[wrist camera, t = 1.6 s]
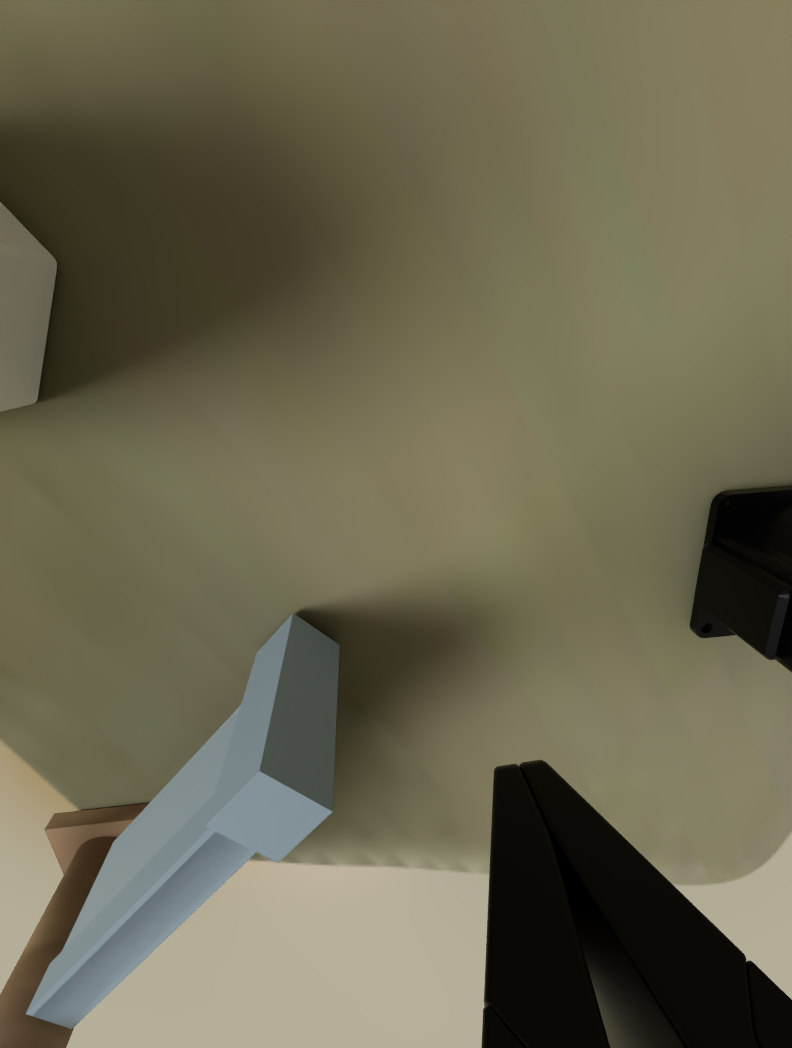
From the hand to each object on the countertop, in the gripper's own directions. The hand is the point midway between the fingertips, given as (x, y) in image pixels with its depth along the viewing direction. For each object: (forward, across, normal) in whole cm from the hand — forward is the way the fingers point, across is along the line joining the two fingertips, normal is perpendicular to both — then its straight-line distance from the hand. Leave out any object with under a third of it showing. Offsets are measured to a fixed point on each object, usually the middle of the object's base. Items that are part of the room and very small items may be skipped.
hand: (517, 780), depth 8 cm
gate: (+12, +10, +8) cm, 17 cm away
